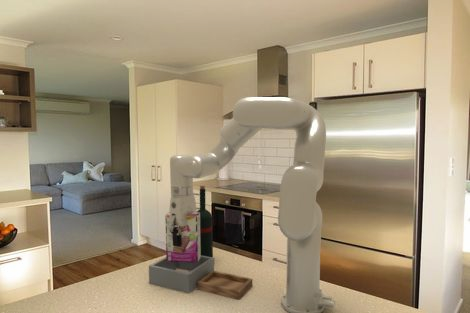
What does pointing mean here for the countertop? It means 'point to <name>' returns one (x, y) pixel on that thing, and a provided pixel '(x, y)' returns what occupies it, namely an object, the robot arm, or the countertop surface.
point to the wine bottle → (205, 227)
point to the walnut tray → (225, 284)
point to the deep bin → (180, 273)
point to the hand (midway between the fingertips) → (183, 242)
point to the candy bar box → (185, 241)
